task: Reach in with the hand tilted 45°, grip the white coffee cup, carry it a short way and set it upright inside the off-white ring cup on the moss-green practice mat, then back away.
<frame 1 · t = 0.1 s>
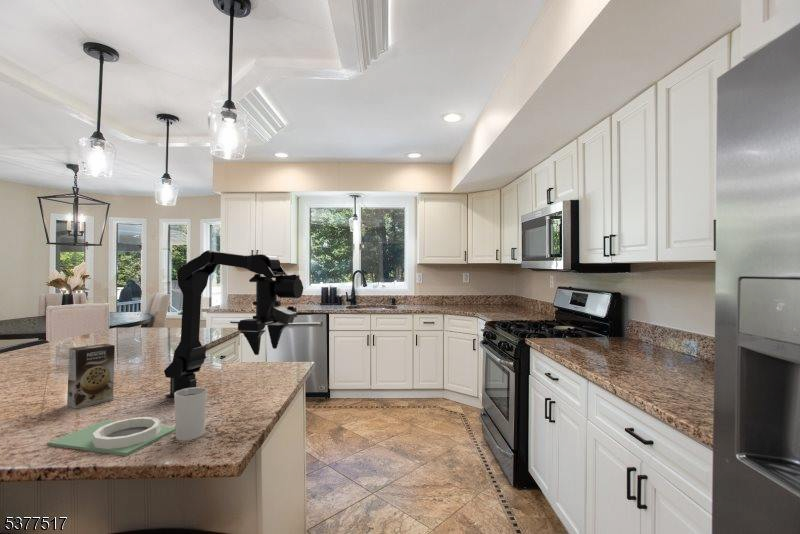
hand: (266, 351, 110), 15 cm above the counter, tool pointing down, fingers open, 9 cm apart
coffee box: (90, 403, 109), on the counter
practice green: (127, 438, 85), on the counter
white coffee cup: (190, 435, 87), on the counter
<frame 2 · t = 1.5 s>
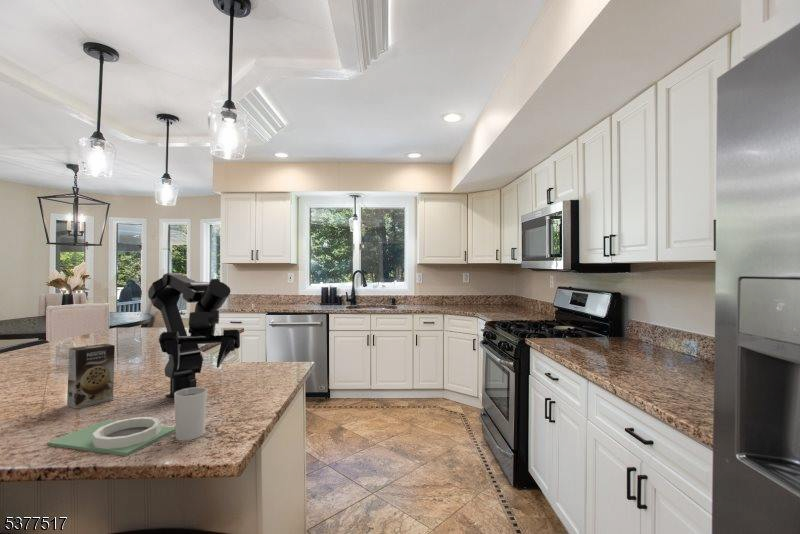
hand: (197, 368, 95), 13 cm above the counter, tool tilted 45°, fingers open, 9 cm apart
nothing on the counter moved.
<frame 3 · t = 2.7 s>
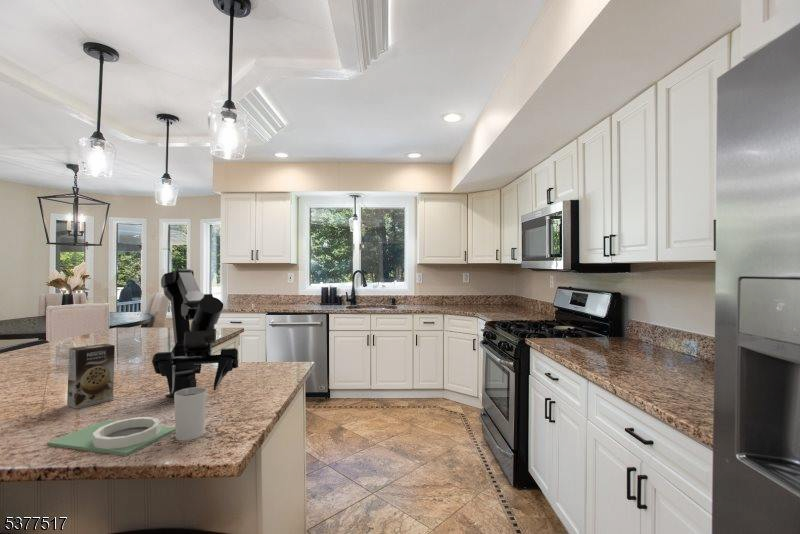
hand: (193, 391, 89), 9 cm above the counter, tool tilted 45°, fingers open, 9 cm apart
nothing on the counter moved.
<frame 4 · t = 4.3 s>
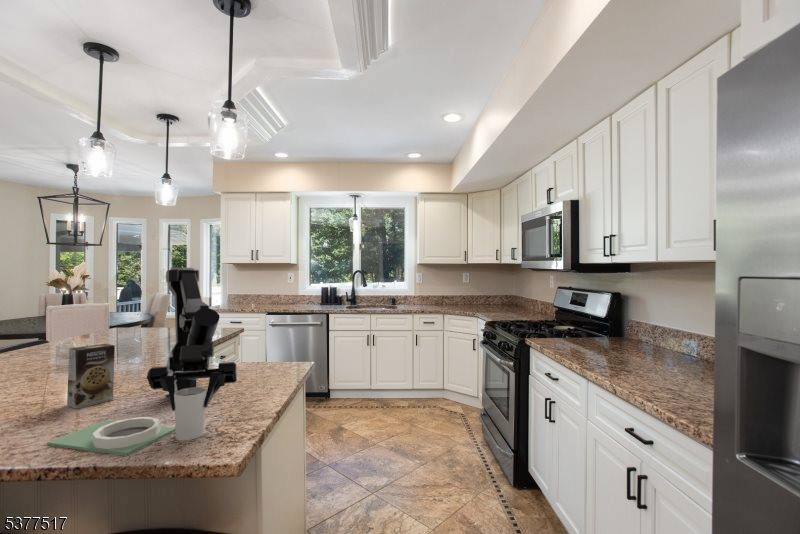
hand: (189, 408, 86), 7 cm above the counter, tool tilted 45°, fingers closed on white coffee cup, 6 cm apart
white coffee cup: (190, 435, 87), on the counter, touching gripper
everything else where it was.
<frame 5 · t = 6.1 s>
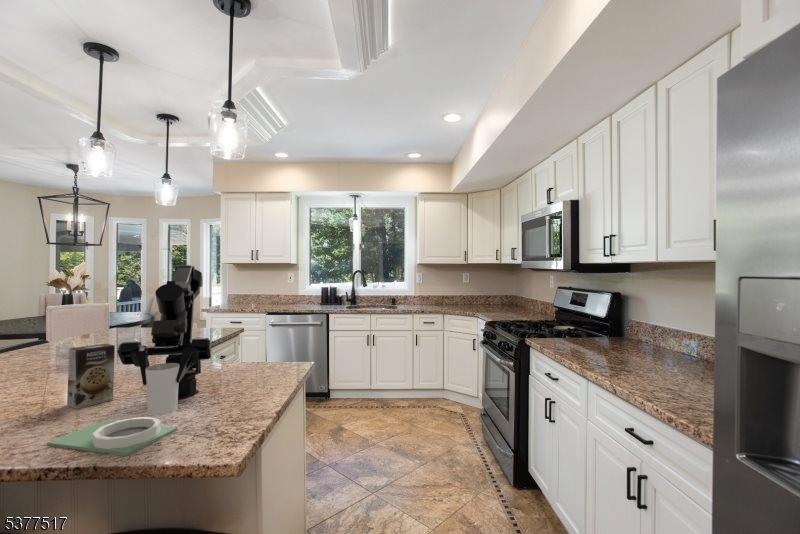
hand: (161, 383, 85), 12 cm above the counter, tool tilted 45°, fingers closed on white coffee cup, 6 cm apart
white coffee cup: (162, 411, 87), point 6 cm above the counter, touching gripper
everything else where it was.
when the fingers open (8 cm above the counter, at t = 8.5 s): white coffee cup stays where it is, resting on practice green.
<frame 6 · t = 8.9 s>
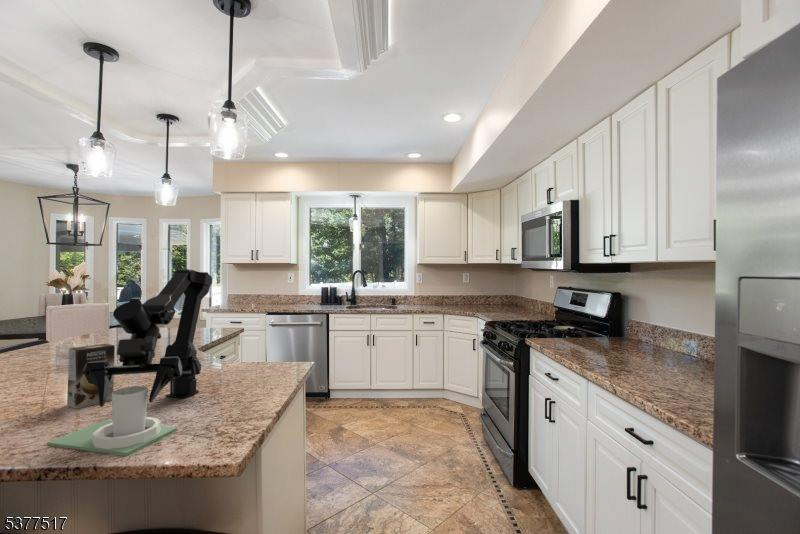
hand: (126, 403, 84), 8 cm above the counter, tool tilted 45°, fingers open, 9 cm apart
white coffee cup: (129, 435, 85), point 1 cm above the counter, touching practice green
everything else where it was.
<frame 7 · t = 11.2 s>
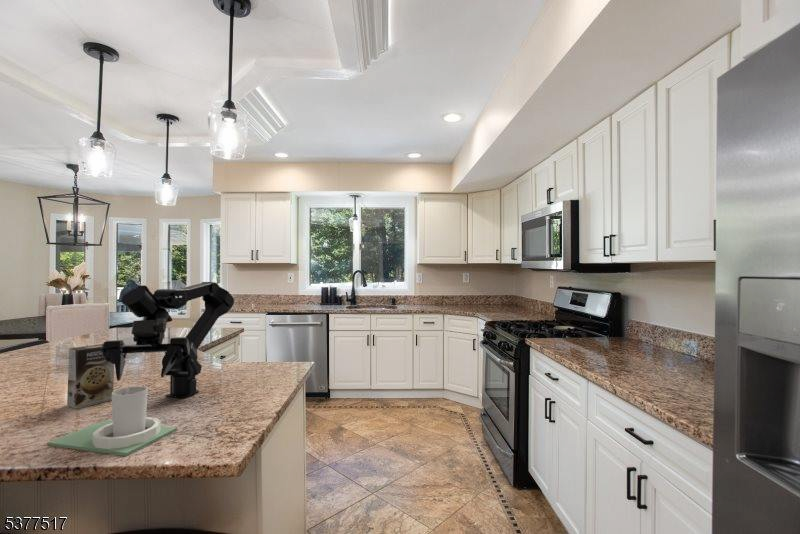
hand: (140, 378, 93), 12 cm above the counter, tool tilted 45°, fingers open, 9 cm apart
nothing on the counter moved.
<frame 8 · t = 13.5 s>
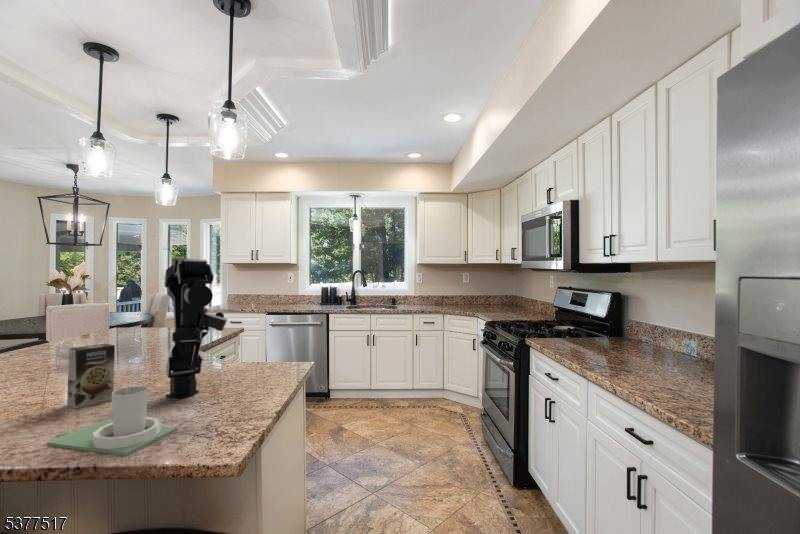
hand: (192, 361, 104), 13 cm above the counter, tool pointing down, fingers open, 9 cm apart
nothing on the counter moved.
at the end: white coffee cup 0.3 cm off-centre on the practice green, point 0.6 cm above the practice green's base; white coffee cup tilted 0°; the gripper is holding nothing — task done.
